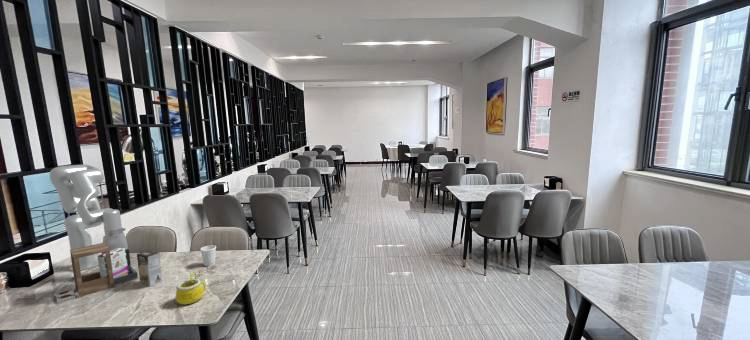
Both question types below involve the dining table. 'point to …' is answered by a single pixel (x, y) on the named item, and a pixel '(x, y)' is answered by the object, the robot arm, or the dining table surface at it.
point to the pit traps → (64, 296)
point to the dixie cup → (208, 255)
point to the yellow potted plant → (190, 290)
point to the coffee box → (149, 267)
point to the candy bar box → (114, 263)
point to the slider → (130, 276)
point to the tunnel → (90, 282)
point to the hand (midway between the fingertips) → (117, 264)
